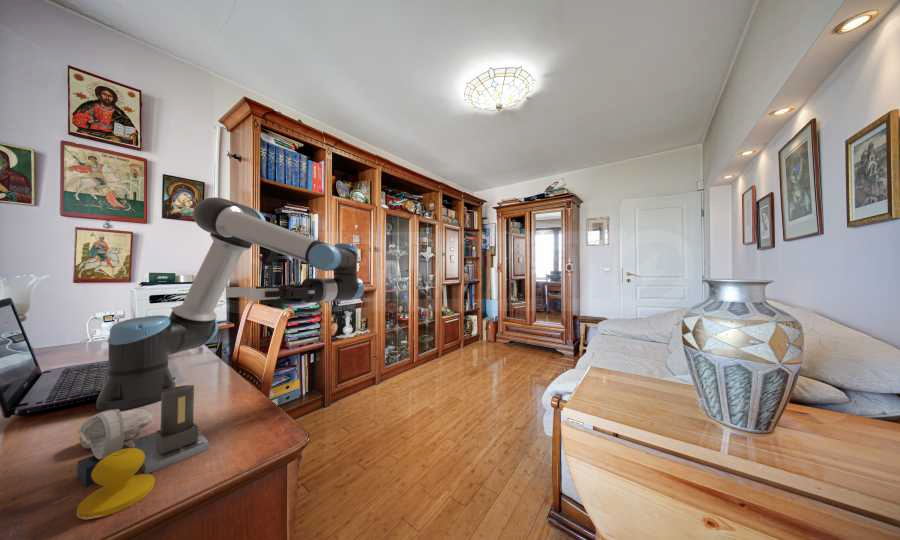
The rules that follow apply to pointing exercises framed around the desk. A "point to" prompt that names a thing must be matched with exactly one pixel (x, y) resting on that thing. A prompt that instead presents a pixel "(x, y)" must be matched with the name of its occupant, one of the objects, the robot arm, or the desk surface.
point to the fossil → (128, 424)
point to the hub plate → (158, 460)
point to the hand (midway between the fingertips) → (236, 293)
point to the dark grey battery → (177, 419)
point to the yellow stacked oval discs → (117, 483)
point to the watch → (96, 431)
